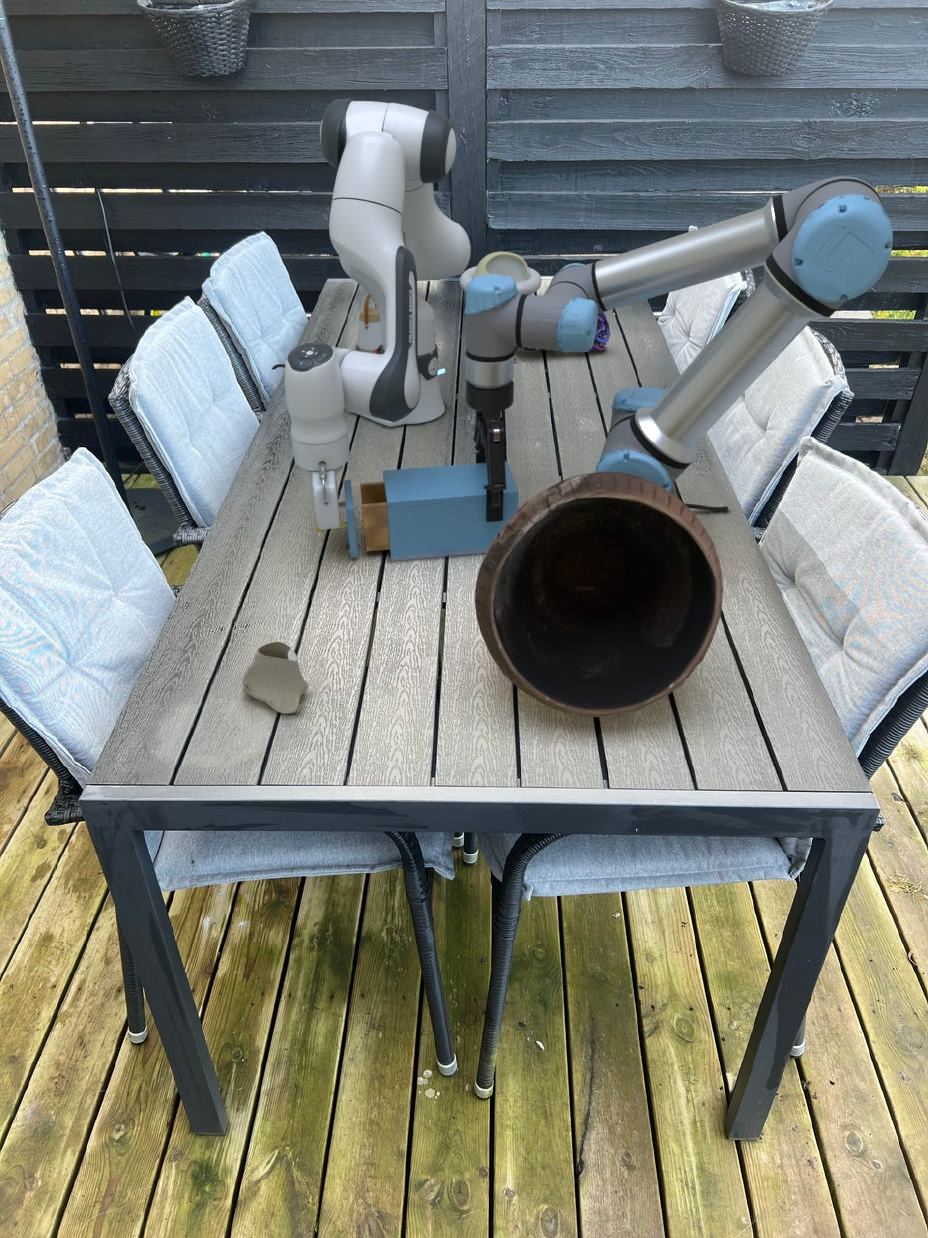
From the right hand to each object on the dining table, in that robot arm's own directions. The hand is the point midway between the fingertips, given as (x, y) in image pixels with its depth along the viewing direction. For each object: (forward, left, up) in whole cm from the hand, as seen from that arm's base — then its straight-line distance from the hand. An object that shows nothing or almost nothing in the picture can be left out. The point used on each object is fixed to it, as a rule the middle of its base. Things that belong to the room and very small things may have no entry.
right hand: (488, 502), depth 158 cm
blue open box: (+7, -1, -7) cm, 9 cm away
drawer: (+17, -2, -6) cm, 18 cm away
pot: (-6, +36, -7) cm, 37 cm away
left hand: (+27, -2, -1) cm, 27 cm away
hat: (-31, -110, -7) cm, 115 cm away
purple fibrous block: (-35, -78, -7) cm, 85 cm away
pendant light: (+6, -91, -7) cm, 92 cm away
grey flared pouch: (+39, +34, -7) cm, 52 cm away
